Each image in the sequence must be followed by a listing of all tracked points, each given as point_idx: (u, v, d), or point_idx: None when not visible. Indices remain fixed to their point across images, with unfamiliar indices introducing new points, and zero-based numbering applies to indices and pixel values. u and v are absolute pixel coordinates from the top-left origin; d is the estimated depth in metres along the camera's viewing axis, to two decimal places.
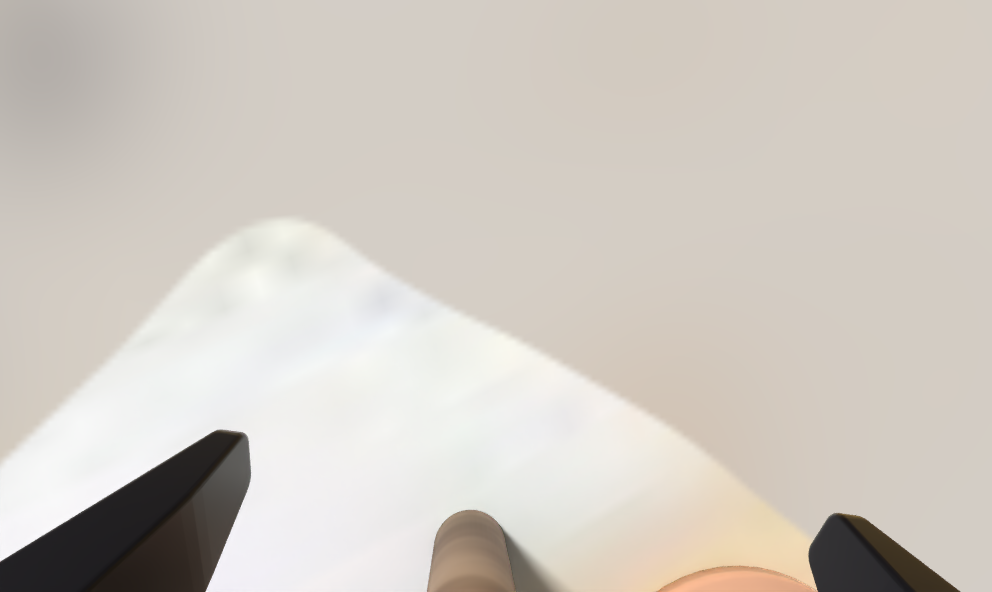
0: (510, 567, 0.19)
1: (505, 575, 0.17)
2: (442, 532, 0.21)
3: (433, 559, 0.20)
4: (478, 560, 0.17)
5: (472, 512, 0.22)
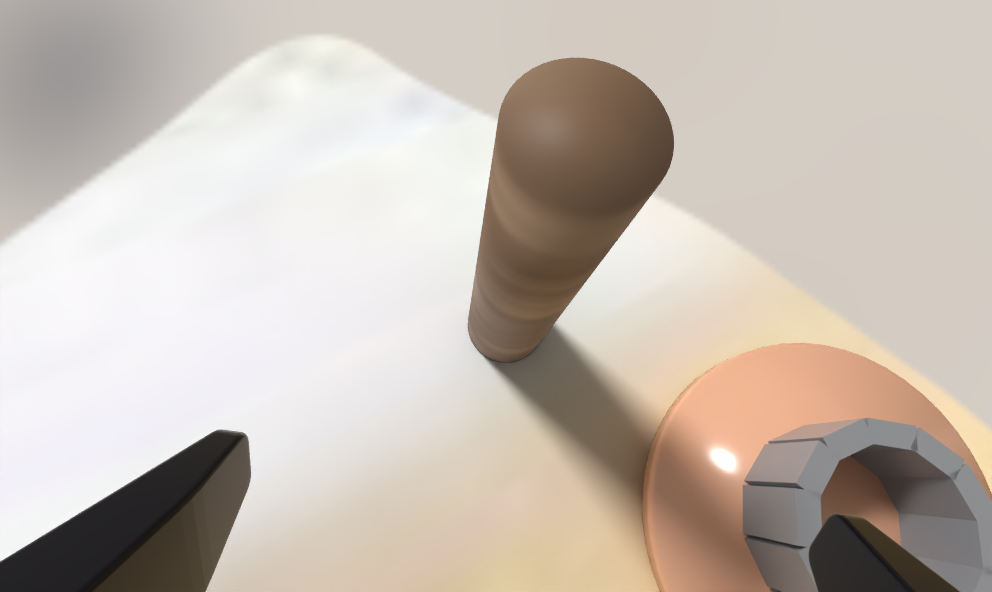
0: None
1: None
2: None
3: None
4: None
5: None
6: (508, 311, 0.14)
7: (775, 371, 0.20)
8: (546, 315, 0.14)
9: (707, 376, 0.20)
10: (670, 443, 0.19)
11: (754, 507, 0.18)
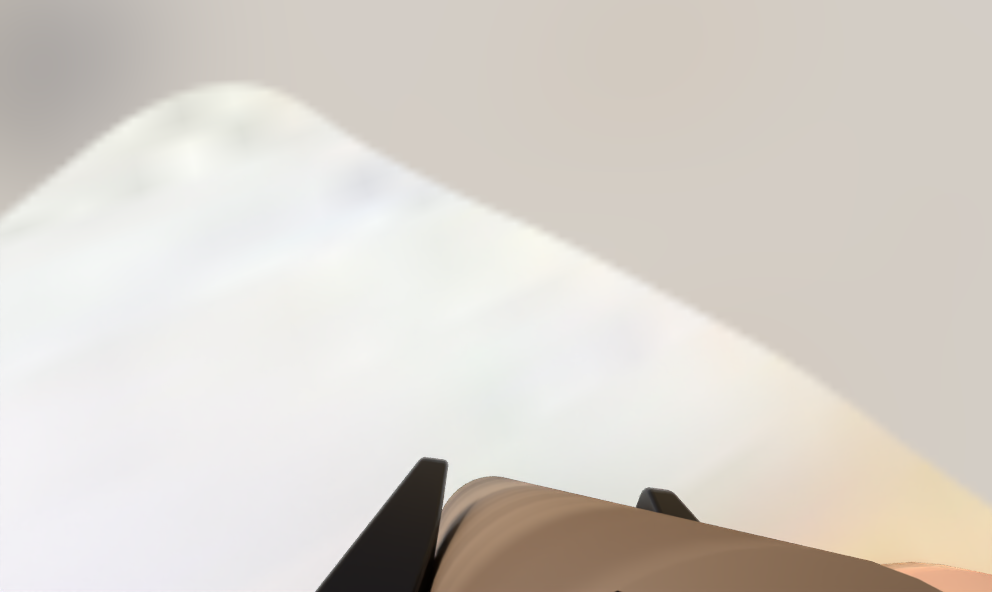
0: None
1: None
2: (451, 499, 0.13)
3: None
4: (527, 483, 0.09)
5: None
6: None
7: None
8: None
9: None
10: None
11: None
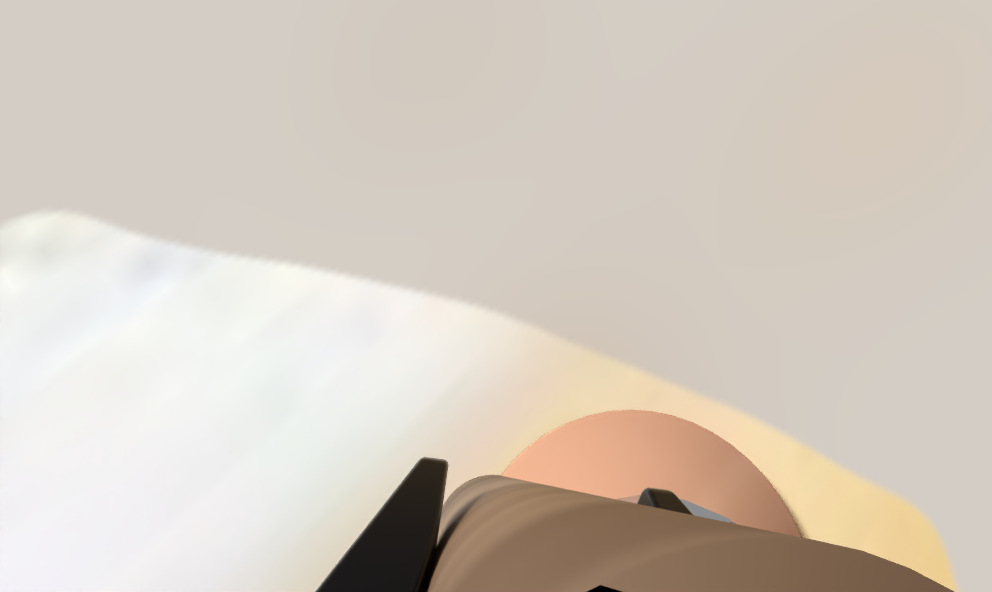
0: None
1: None
2: (450, 498, 0.13)
3: None
4: None
5: (496, 475, 0.14)
6: None
7: (566, 455, 0.20)
8: None
9: None
10: None
11: None
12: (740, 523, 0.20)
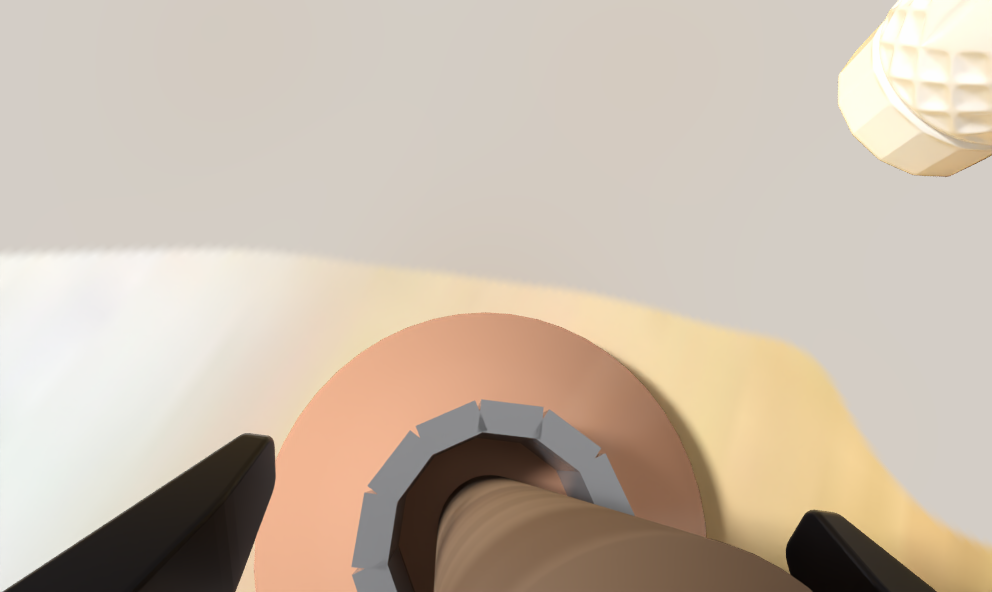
0: None
1: None
2: (452, 496, 0.14)
3: (442, 519, 0.13)
4: (520, 483, 0.11)
5: (493, 475, 0.15)
6: None
7: (361, 392, 0.16)
8: None
9: (282, 447, 0.16)
10: (263, 560, 0.15)
11: None
12: (588, 414, 0.17)
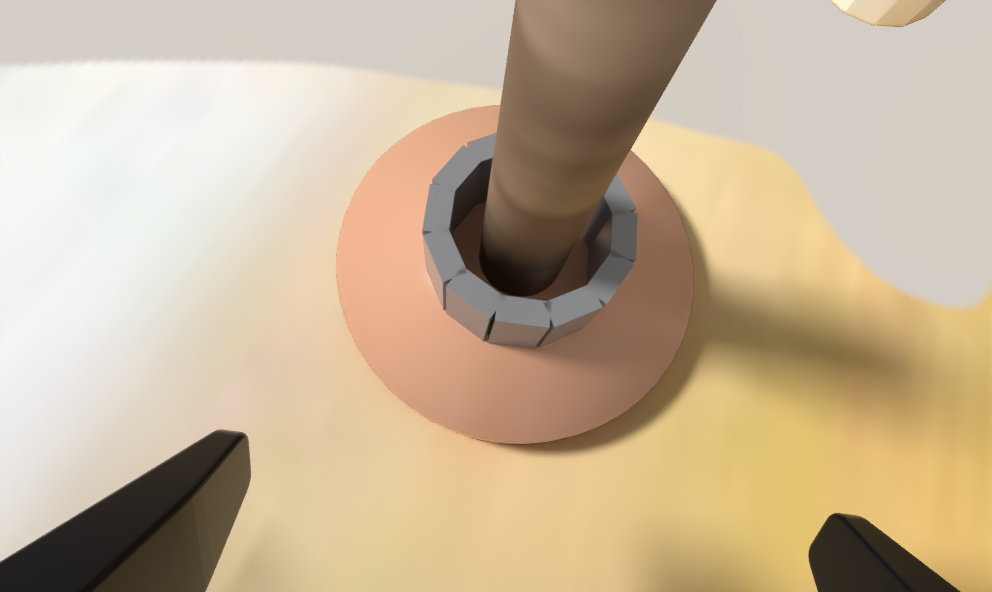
0: None
1: None
2: None
3: None
4: None
5: None
6: (531, 204, 0.12)
7: (416, 158, 0.20)
8: (574, 209, 0.13)
9: (354, 194, 0.20)
10: (343, 270, 0.19)
11: (433, 280, 0.18)
12: None
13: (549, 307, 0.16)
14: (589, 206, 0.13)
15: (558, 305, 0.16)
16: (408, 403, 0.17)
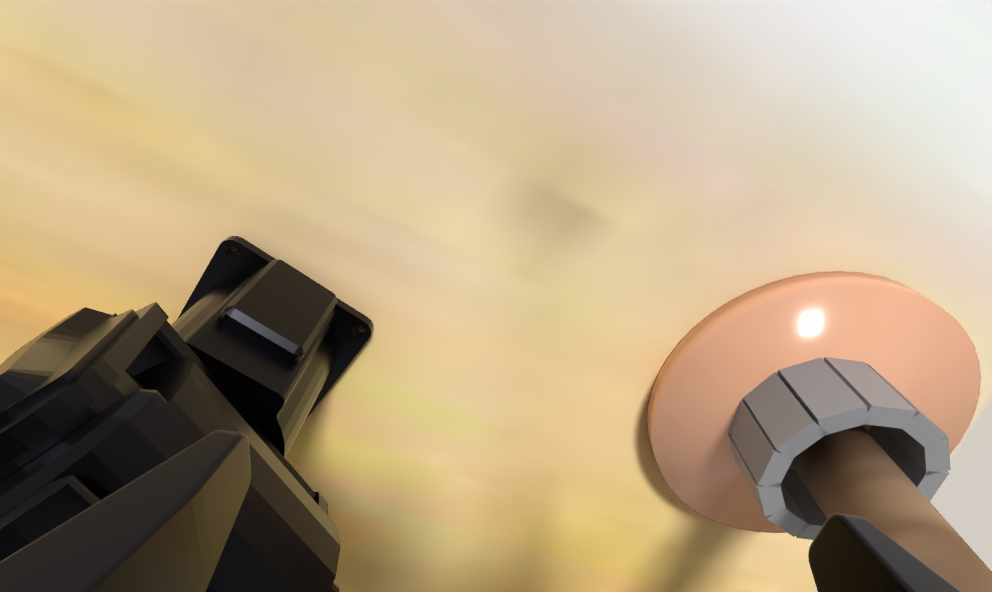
0: None
1: None
2: None
3: (878, 448, 0.19)
4: None
5: None
6: None
7: (940, 348, 0.21)
8: None
9: (919, 296, 0.20)
10: (840, 290, 0.20)
11: (811, 373, 0.20)
12: None
13: (774, 485, 0.20)
14: None
15: (774, 490, 0.20)
16: (702, 345, 0.21)
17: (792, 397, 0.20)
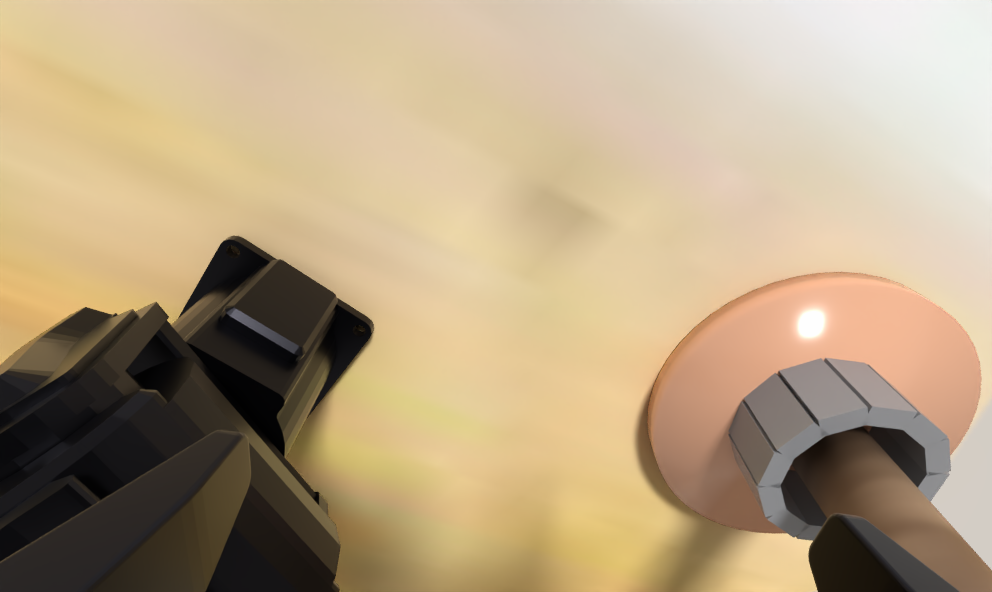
0: None
1: None
2: None
3: (878, 449, 0.19)
4: None
5: None
6: None
7: (941, 349, 0.21)
8: None
9: (920, 297, 0.20)
10: (840, 291, 0.20)
11: (812, 374, 0.20)
12: None
13: (774, 486, 0.20)
14: None
15: (774, 491, 0.20)
16: (703, 345, 0.21)
17: (792, 398, 0.20)
